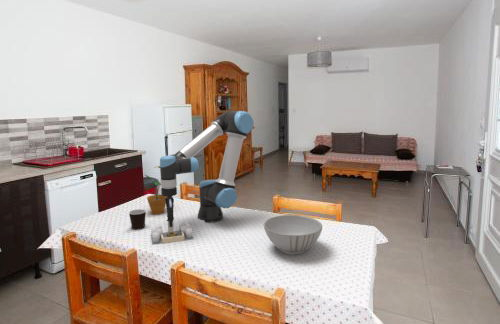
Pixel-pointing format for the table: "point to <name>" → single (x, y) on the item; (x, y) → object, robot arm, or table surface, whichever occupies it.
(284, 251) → the decorative bowl
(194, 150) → the robot arm
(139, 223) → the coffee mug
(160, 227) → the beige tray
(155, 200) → the potted plant
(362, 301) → the table surface
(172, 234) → the nut
